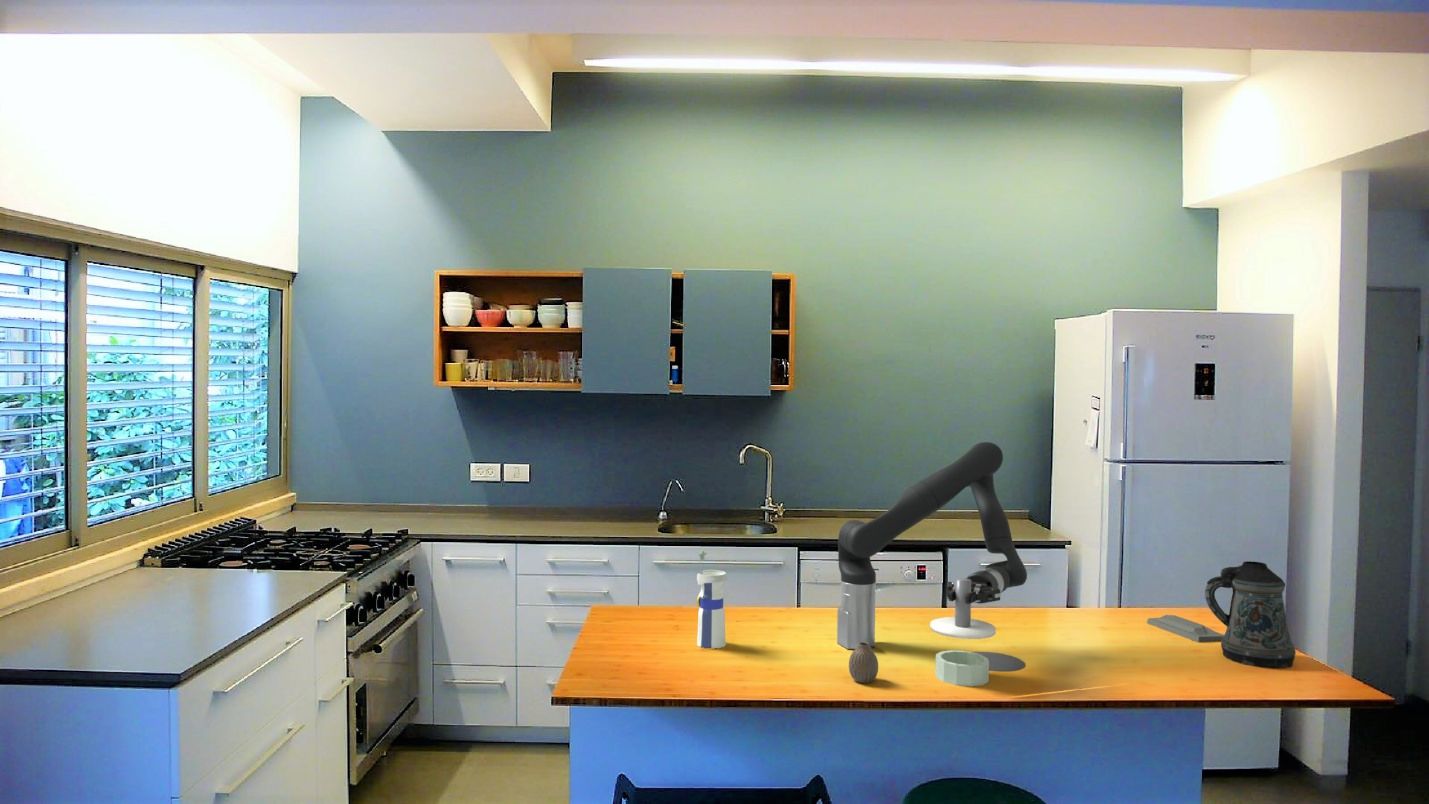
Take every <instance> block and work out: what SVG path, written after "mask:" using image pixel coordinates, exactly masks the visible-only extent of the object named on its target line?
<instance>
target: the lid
mask: <svg viewBox="0 0 1429 804" xmlns="http://www.w3.org/2000/svg"><path fill="white" fill-rule="evenodd" d="M969 593H971V580H970V579H967V577H966V578H965V577H958V578H955V600H954V602H955V603H954V616H948V617H947V616H946V617H940V618H938V617H937V618H935V619H933V620H931V621H930V622H929V623H930V625H929V628H930V630H931V631H932V632H934V633H936V634H939V635H941V636H946V637H949V638H957V639H964V640H965V639H966V640H982V639H987V638H988V639H989V638H993V637H994V636H995V635H996V632H997V629H996V627H995V625H993V624H992V623H990V622H987V621H984V620H980V619H975V618H971V614H972V613H971V612H972V611H971V610H972V603H971V604H966V595H967V594H969Z"/></svg>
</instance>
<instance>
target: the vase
mask: <svg viewBox="0 0 1429 804" xmlns="http://www.w3.org/2000/svg"><path fill="white" fill-rule="evenodd" d="M848 670H849V672H848V673H849V674H850V677H851V678H852V679H853V680H854V681H855V682H856V683H859V684H871V683H872V682H873V681H874V680H875V679H876V678H877V676H878V672H879V661H878V658H877V655H876V654H875V652H874V651H873V650H872V648H870V646H869V644H868V643H865V642H861V643H859V644H858V646H857V648H856V649H853V651H852V653H851V654H850V656H849V659H848Z"/></svg>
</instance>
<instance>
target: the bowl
mask: <svg viewBox="0 0 1429 804" xmlns="http://www.w3.org/2000/svg"><path fill="white" fill-rule="evenodd" d="M973 652H974V651H967V650H954V649H952V650H951V649H950V650H942V651H940V652H938V653H935V678H936V679H938V680H940V681H941V682H943V683H945V684H950V685H954V686H962V687H977V686H979V687H980V686H983V685H986V684H987V683H989V680H990V678H989V677H990V674H989V673H990V671H989V661H988V658H987V657H985V656H983V655H980V654H977V653H973Z"/></svg>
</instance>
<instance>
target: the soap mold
mask: <svg viewBox="0 0 1429 804" xmlns="http://www.w3.org/2000/svg"><path fill="white" fill-rule="evenodd" d="M1147 623H1148V624H1147ZM1146 624H1147V625H1150V626H1152V627H1155V626H1156V628H1158V629H1161V630H1164V631H1166V632H1169V633H1172V634H1175V635H1176V636H1180V637H1183V638H1184V639H1185V638H1186V639H1188V640H1191V641H1194V642H1195V643H1196V642H1197V643H1209V642H1210V643H1211V642H1221V640H1222V639H1223V637H1224V635H1225V634H1223V633H1220V632H1217V631H1215V630H1213V629H1212V628H1209V627H1207V625H1203V624H1201V623H1198V622H1195V621H1192V620H1190V619H1187V618H1183V617H1181V616H1179V615H1174V614H1173V615H1172V614H1165V615H1163V616H1161V617H1149V618H1147V620H1146Z"/></svg>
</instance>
